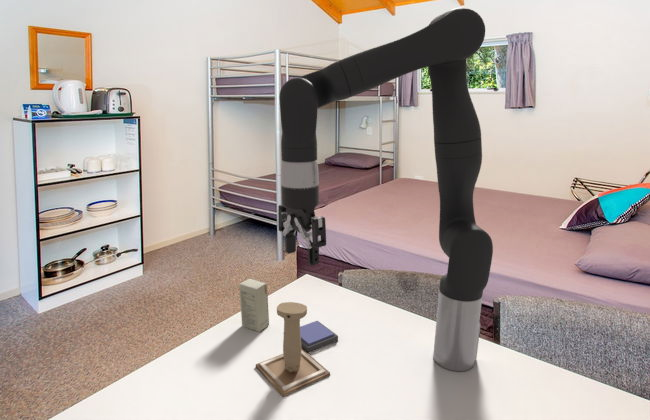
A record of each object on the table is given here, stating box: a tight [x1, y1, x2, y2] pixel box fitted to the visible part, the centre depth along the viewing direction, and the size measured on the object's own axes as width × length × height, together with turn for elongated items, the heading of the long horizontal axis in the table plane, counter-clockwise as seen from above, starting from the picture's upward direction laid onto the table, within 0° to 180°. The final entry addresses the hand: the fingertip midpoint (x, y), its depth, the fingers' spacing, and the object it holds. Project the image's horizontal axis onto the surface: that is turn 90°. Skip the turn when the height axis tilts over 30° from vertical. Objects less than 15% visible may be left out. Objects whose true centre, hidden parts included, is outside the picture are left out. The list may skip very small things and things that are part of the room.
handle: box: [276, 301, 308, 373], centre depth 93 cm, size 5×6×15 cm
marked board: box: [255, 348, 331, 397], centre depth 95 cm, size 12×12×1 cm
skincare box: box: [238, 278, 270, 333], centre depth 112 cm, size 6×4×12 cm
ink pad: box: [300, 320, 339, 354], centre depth 107 cm, size 9×9×2 cm
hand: (301, 258), depth 89 cm, fingers open, 8 cm apart
